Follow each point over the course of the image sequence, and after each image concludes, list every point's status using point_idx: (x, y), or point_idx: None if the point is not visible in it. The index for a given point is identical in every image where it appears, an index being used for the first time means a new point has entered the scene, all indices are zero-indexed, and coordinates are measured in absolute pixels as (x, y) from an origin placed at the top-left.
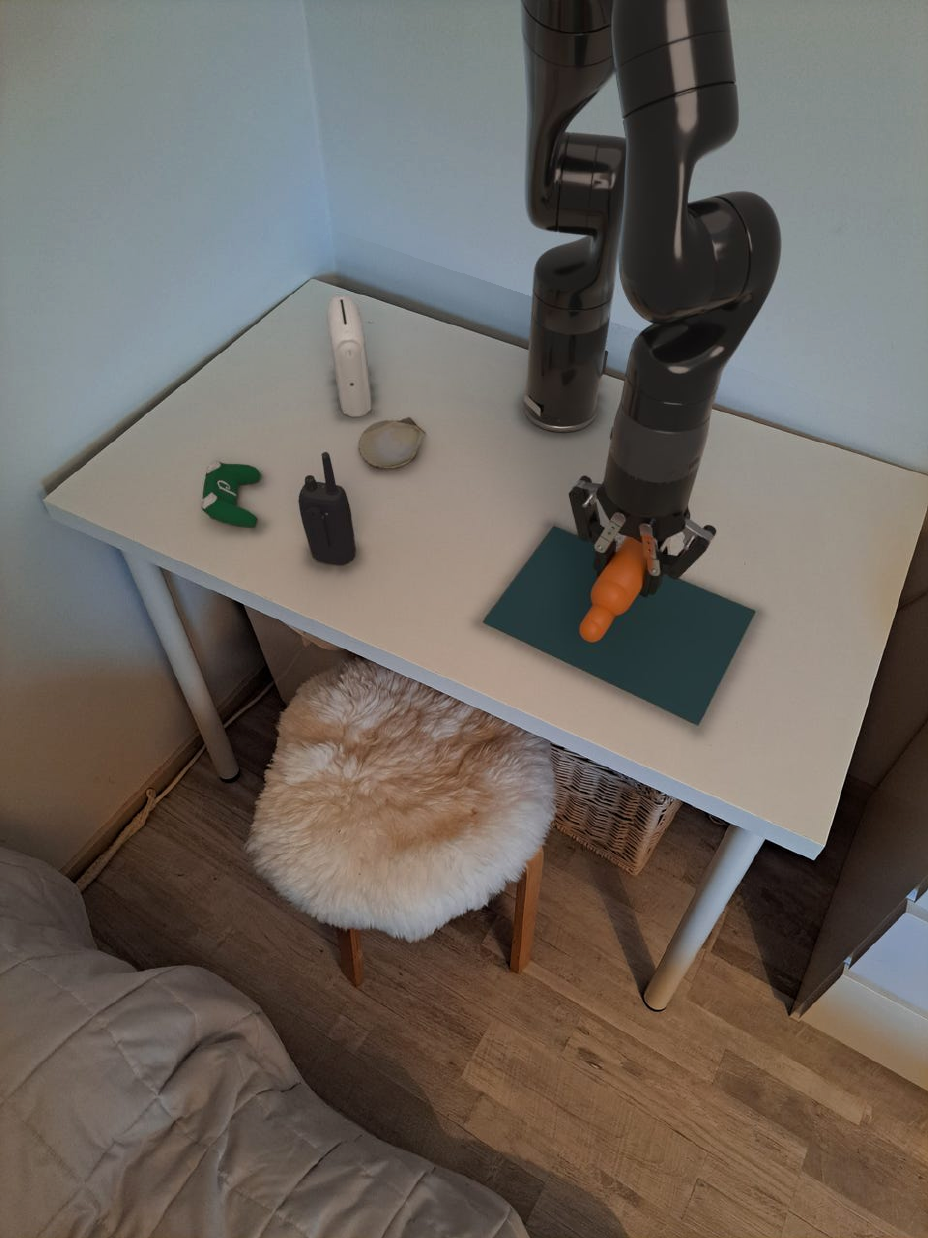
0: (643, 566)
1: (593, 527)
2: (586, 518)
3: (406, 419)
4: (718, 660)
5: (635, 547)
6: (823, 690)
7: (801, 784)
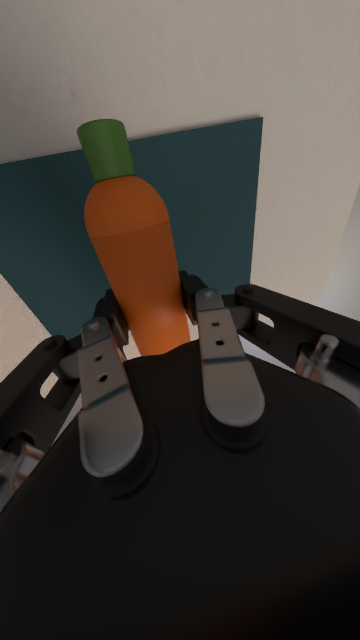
0: (177, 305)
1: (73, 370)
2: (60, 421)
3: None
4: (244, 232)
5: (146, 295)
6: (334, 186)
7: (314, 280)
